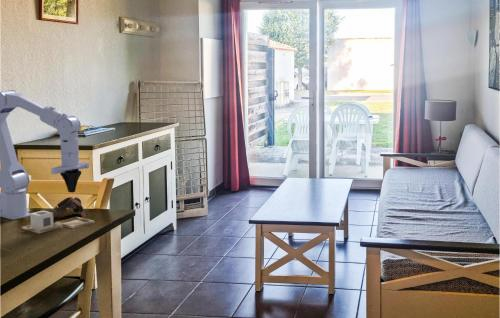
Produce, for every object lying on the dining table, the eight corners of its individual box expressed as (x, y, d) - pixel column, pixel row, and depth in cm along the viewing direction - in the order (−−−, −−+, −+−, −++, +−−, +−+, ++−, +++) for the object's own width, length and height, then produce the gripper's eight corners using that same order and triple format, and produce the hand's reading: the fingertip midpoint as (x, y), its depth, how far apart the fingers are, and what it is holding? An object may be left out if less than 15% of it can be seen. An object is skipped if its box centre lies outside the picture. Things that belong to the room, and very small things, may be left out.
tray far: (55, 225, 210) (55, 222, 209) (76, 219, 217) (76, 216, 217) (73, 229, 204) (72, 226, 204) (94, 223, 212) (94, 220, 212)
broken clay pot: (83, 222, 215) (70, 203, 213) (61, 232, 218) (47, 214, 215) (93, 205, 226) (80, 187, 224) (71, 215, 229) (59, 197, 226)
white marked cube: (31, 228, 204) (30, 213, 203) (43, 225, 208) (43, 210, 207) (40, 231, 201) (40, 215, 200) (53, 227, 205) (53, 212, 204)
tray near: (21, 229, 204) (21, 226, 204) (45, 223, 211) (44, 221, 211) (39, 234, 199) (39, 231, 198) (62, 228, 206) (62, 225, 206)
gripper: (60, 156, 204) (62, 197, 206) (94, 150, 216) (95, 189, 218) (46, 154, 208) (48, 194, 210) (80, 149, 219) (82, 187, 222)
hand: (71, 191), depth 214 cm, fingers closed
